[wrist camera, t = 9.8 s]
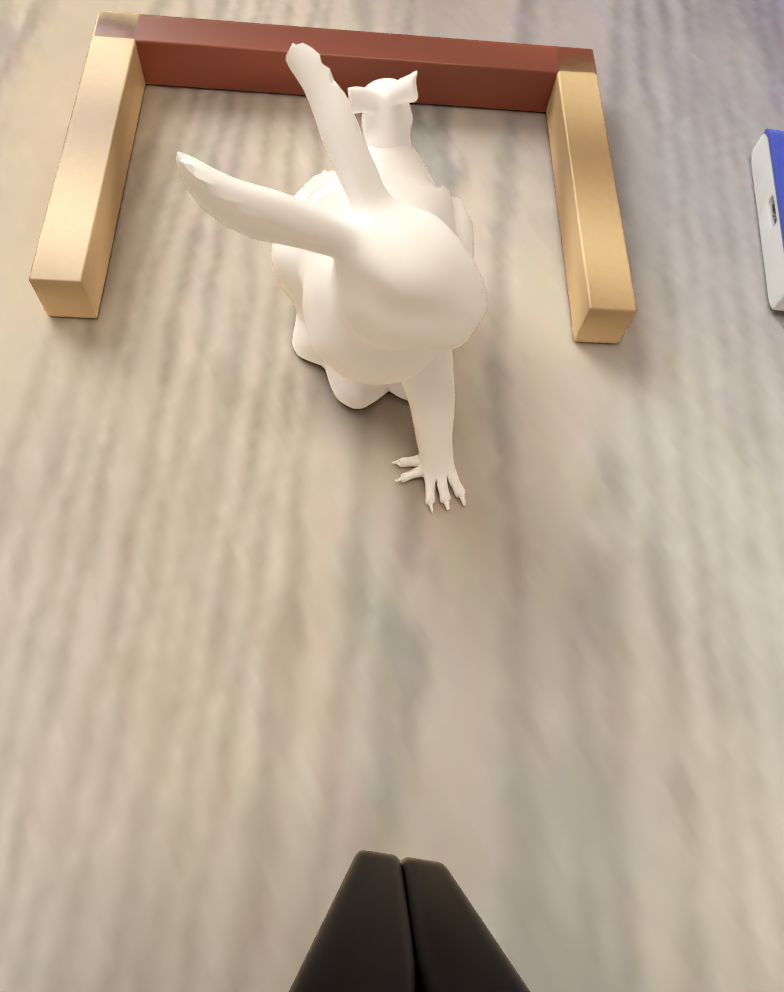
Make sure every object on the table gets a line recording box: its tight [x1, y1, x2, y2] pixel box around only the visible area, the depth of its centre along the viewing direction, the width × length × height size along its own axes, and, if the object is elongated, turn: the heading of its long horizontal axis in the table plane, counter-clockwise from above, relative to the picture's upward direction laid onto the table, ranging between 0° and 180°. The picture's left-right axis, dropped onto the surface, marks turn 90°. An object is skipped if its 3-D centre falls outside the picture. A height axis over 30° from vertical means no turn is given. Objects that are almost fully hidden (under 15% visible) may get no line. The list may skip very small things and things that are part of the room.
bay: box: [29, 11, 637, 343], centre depth 27 cm, size 13×19×2 cm
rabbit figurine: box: [175, 43, 488, 512], centre depth 21 cm, size 12×8×10 cm, turn 179°
